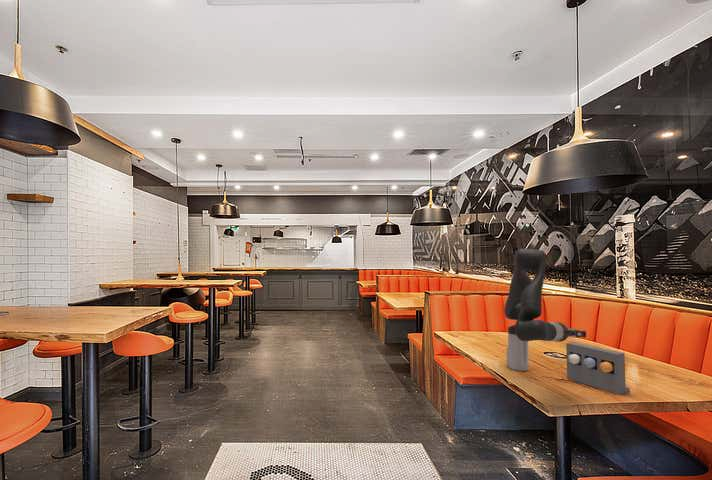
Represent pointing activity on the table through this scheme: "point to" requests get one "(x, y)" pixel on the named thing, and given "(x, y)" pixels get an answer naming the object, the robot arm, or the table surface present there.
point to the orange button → (606, 366)
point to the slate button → (590, 362)
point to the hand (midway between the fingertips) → (572, 332)
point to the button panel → (597, 368)
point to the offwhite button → (575, 358)
